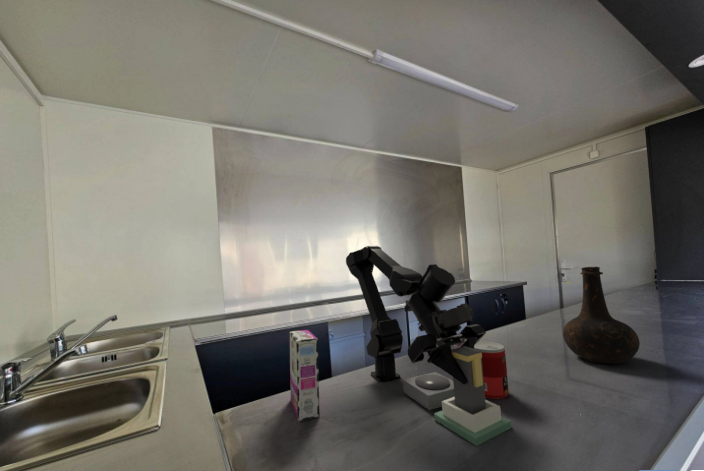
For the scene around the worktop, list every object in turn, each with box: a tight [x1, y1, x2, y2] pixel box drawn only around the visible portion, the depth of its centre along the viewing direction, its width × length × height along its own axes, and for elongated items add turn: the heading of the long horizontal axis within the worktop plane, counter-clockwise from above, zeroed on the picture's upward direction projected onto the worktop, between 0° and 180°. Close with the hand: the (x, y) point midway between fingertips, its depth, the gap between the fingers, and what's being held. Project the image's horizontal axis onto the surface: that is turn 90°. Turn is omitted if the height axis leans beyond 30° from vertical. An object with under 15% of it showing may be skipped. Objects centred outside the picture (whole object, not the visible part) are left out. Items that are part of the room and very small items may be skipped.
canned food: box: [474, 340, 509, 400], centre depth 70 cm, size 8×8×11 cm
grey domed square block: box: [402, 371, 455, 411], centre depth 69 cm, size 10×10×3 cm
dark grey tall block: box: [451, 346, 486, 415], centre depth 57 cm, size 5×4×12 cm
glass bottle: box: [562, 266, 640, 365], centre depth 88 cm, size 18×18×28 cm
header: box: [433, 397, 513, 447], centre depth 57 cm, size 10×10×4 cm
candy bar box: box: [289, 329, 321, 422], centre depth 66 cm, size 11×5×16 cm, turn 21°
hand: (473, 380), depth 56 cm, fingers closed on dark grey tall block, 4 cm apart
